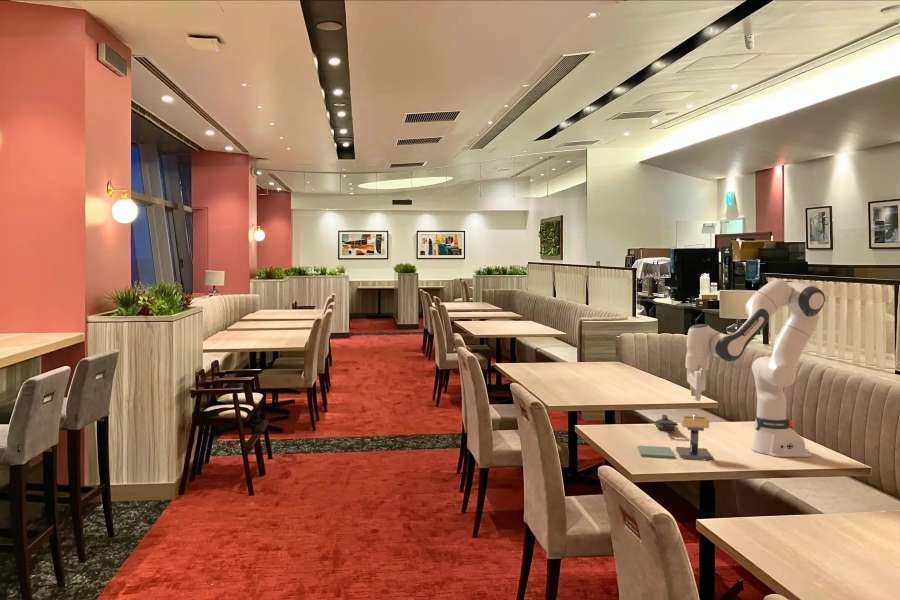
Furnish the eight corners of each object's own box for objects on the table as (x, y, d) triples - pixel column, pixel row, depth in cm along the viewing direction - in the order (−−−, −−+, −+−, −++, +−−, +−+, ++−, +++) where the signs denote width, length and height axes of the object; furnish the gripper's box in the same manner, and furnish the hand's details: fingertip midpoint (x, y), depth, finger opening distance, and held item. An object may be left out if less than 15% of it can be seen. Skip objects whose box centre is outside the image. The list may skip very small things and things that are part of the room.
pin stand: (706, 452, 283) (707, 412, 282) (712, 460, 271) (713, 419, 270) (676, 450, 285) (677, 411, 284) (680, 458, 273) (682, 417, 272)
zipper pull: (658, 422, 306) (654, 410, 330) (657, 437, 306) (654, 424, 331) (679, 423, 304) (674, 411, 328) (678, 438, 304) (673, 425, 329)
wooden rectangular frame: (706, 425, 279) (706, 416, 278) (708, 428, 274) (709, 419, 274) (680, 424, 280) (681, 415, 280) (683, 427, 275) (683, 418, 275)
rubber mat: (669, 449, 286) (669, 447, 286) (674, 458, 273) (674, 456, 273) (637, 447, 288) (637, 445, 288) (641, 456, 275) (641, 454, 275)
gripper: (710, 368, 265) (708, 403, 266) (700, 361, 285) (698, 393, 286) (693, 367, 266) (692, 402, 267) (684, 360, 286) (683, 393, 287)
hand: (695, 398), depth 276 cm, fingers open, 8 cm apart
